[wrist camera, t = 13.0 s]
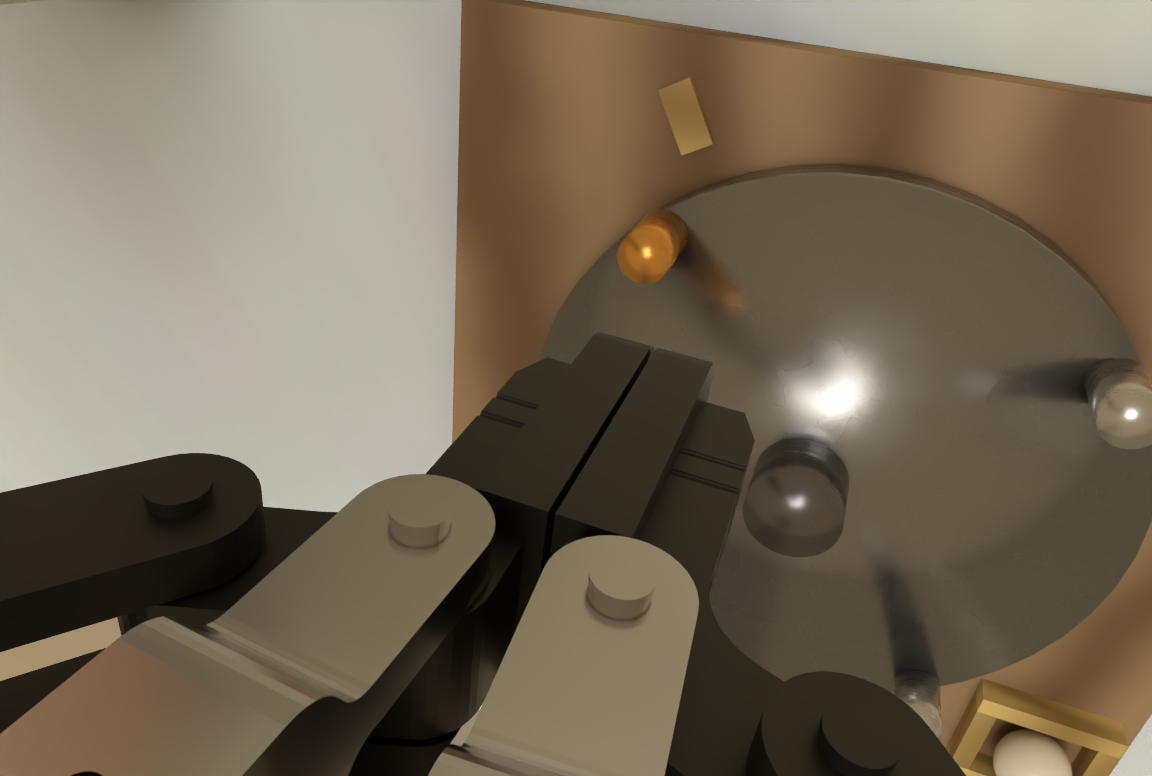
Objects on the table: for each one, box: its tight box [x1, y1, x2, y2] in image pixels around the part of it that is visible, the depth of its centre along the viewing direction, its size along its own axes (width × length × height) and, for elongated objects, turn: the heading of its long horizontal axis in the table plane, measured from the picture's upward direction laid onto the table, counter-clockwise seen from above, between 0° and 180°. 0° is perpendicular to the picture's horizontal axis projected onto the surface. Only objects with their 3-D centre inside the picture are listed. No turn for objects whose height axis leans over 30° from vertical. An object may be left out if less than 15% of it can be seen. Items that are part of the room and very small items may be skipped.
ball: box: [993, 729, 1072, 776], centre depth 36 cm, size 3×3×3 cm
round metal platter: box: [539, 164, 1152, 741], centre depth 32 cm, size 23×23×4 cm
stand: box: [452, 0, 1152, 776], centre depth 35 cm, size 32×30×3 cm
